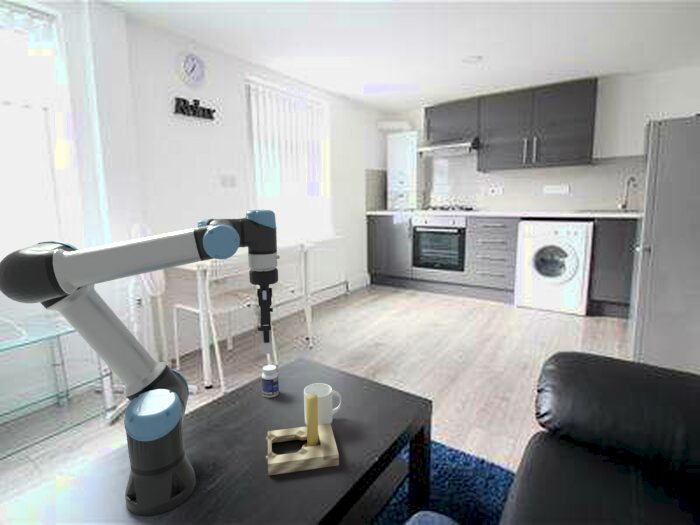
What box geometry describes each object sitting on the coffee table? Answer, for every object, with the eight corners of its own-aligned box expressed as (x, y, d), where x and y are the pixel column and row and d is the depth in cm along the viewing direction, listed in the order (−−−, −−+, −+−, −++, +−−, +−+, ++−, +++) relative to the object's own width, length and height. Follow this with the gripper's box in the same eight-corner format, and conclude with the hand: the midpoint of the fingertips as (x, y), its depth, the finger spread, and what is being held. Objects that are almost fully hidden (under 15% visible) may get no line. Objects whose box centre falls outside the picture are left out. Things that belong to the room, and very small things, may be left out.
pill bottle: (277, 398, 138) (276, 371, 136) (260, 398, 138) (259, 371, 136) (280, 389, 143) (279, 363, 142) (264, 389, 144) (263, 363, 142)
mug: (347, 423, 123) (346, 390, 121) (310, 433, 118) (309, 399, 116) (336, 409, 131) (335, 378, 129) (301, 418, 126) (300, 386, 124)
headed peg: (302, 460, 107) (301, 404, 103) (300, 445, 112) (299, 392, 109) (325, 457, 108) (324, 401, 105) (322, 442, 114) (321, 390, 111)
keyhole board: (266, 475, 101) (265, 464, 100) (266, 441, 114) (265, 431, 114) (338, 465, 105) (338, 454, 104) (330, 433, 118) (330, 423, 117)
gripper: (279, 277, 96) (282, 360, 100) (276, 259, 120) (279, 327, 124) (246, 279, 94) (251, 363, 98) (250, 260, 118) (254, 328, 122)
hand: (267, 343), depth 111 cm, fingers open, 13 cm apart
